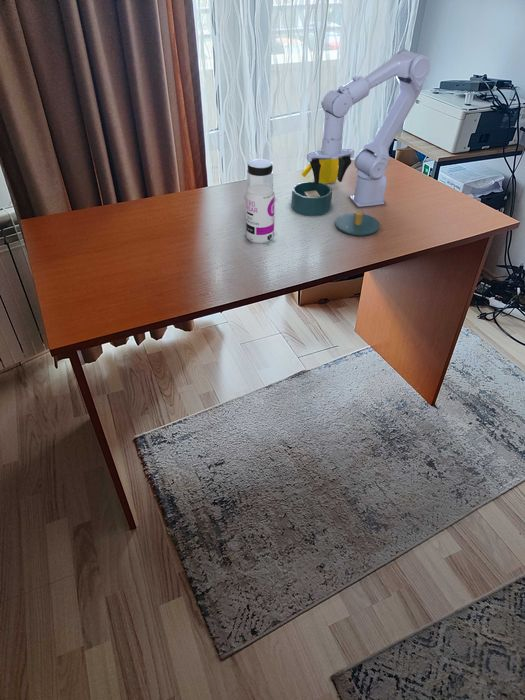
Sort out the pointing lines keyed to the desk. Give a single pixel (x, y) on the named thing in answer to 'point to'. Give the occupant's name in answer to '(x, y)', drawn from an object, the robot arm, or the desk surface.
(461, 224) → the desk surface
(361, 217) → the lid
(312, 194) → the block
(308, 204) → the tin
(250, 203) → the supplement can
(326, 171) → the figure statuette
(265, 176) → the jar
